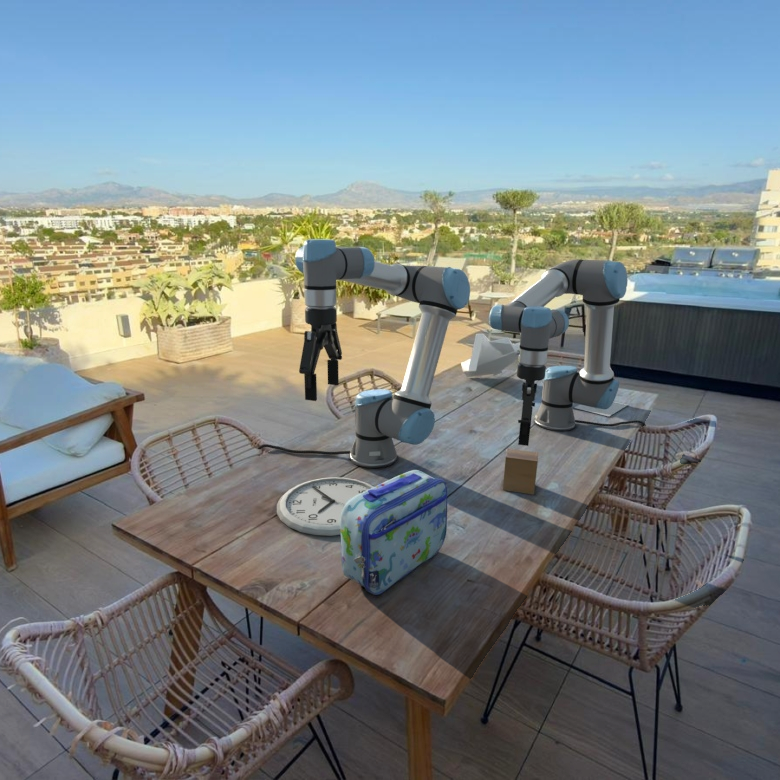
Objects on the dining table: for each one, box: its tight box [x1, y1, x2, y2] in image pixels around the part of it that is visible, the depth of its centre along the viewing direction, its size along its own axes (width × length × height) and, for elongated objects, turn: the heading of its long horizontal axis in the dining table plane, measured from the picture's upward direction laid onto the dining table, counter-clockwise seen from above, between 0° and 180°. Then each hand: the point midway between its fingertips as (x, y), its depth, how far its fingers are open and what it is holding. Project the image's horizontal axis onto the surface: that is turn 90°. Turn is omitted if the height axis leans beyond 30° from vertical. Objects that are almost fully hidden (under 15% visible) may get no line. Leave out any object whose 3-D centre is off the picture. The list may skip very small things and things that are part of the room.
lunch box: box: [340, 469, 448, 596], centre depth 114 cm, size 26×11×21 cm, turn 134°
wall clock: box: [276, 476, 375, 537], centre depth 142 cm, size 30×2×30 cm
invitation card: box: [573, 400, 629, 418], centre depth 226 cm, size 21×1×15 cm
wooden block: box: [502, 448, 539, 495], centre depth 153 cm, size 6×9×10 cm
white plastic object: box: [460, 333, 544, 383], centre depth 259 cm, size 37×45×31 cm
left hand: (322, 392), depth 130 cm, fingers open, 13 cm apart
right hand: (524, 435), depth 150 cm, fingers open, 13 cm apart
